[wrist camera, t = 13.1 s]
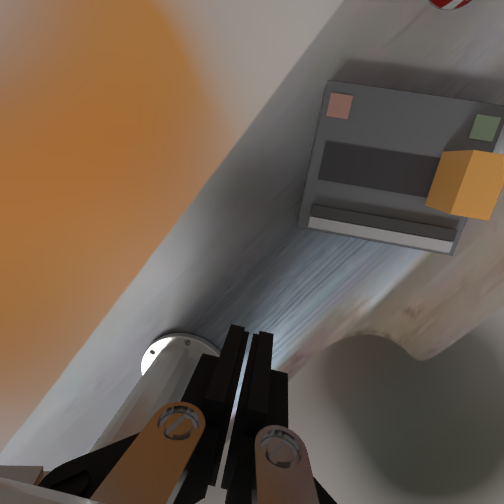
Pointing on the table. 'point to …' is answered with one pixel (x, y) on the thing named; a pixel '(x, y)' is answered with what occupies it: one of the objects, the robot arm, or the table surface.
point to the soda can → (448, 4)
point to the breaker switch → (467, 183)
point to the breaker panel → (389, 163)
